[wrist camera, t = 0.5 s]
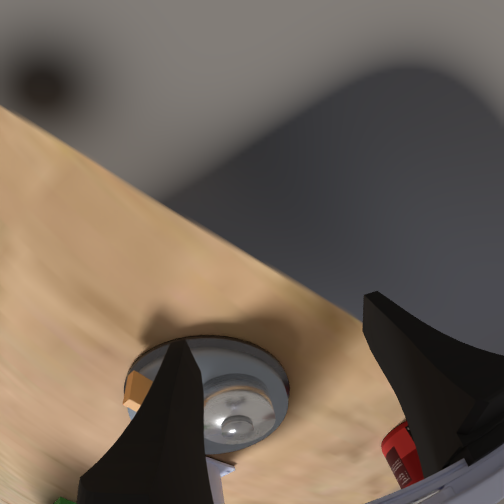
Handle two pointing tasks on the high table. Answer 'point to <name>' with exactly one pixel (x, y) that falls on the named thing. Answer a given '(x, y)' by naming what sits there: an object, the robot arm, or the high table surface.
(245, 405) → the cover
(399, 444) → the canned food
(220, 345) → the turntable base
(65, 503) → the green cereal box
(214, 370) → the turntable
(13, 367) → the high table surface
